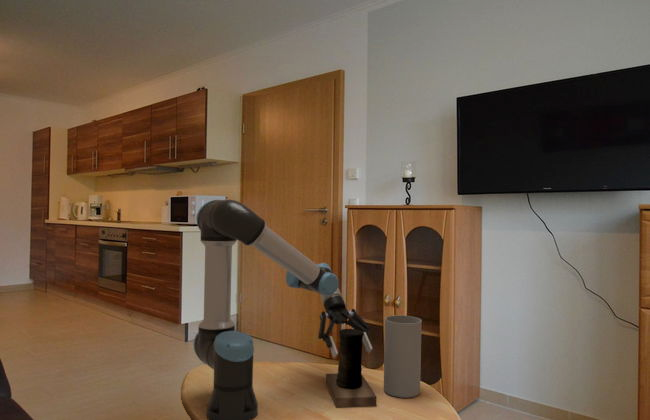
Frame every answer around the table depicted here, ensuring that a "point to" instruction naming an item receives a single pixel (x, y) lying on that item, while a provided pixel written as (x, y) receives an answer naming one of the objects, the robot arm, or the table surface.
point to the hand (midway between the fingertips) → (353, 353)
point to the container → (350, 359)
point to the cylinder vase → (402, 356)
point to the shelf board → (350, 394)
